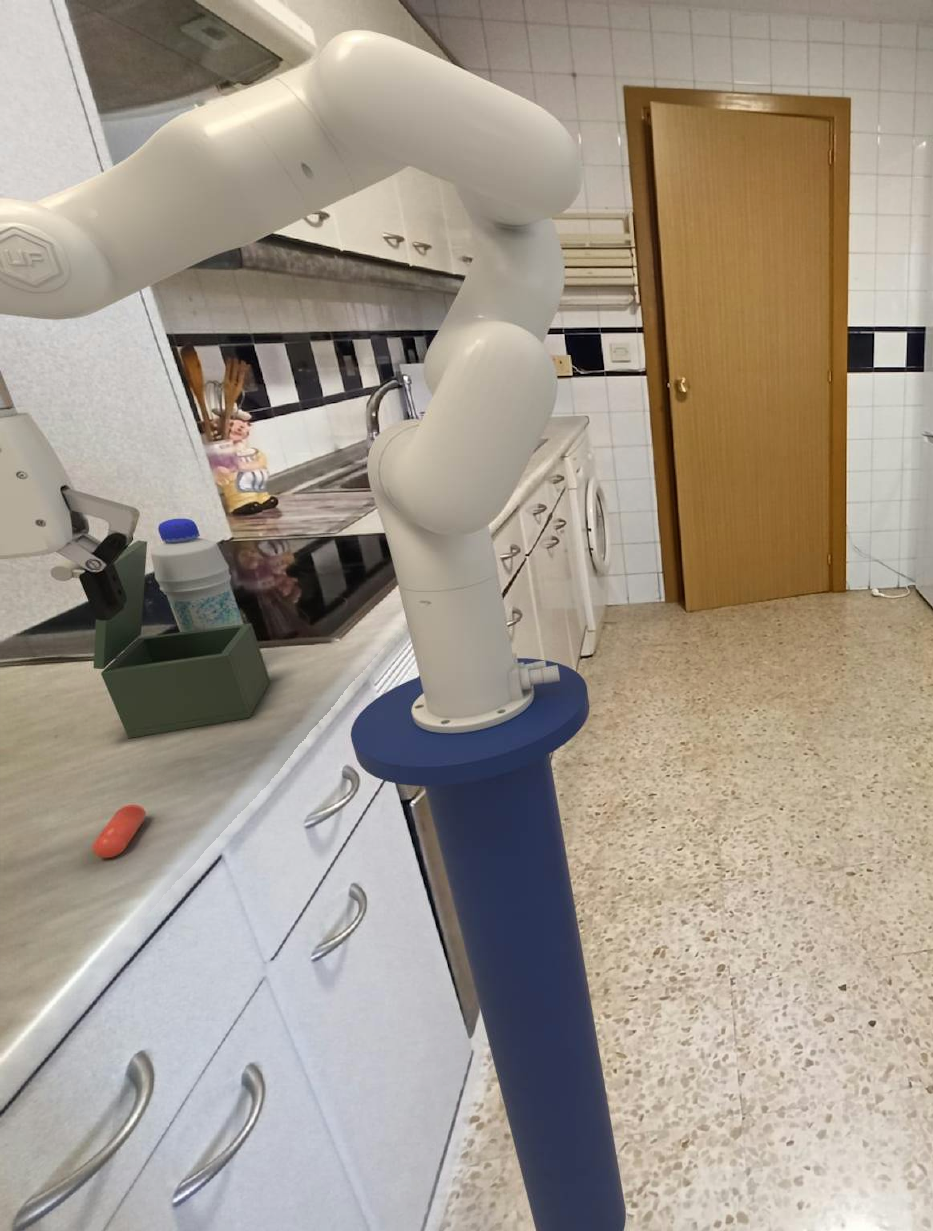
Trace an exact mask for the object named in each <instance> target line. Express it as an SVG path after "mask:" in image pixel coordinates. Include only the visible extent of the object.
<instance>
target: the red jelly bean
mask: <svg viewBox="0 0 933 1231" xmlns="http://www.w3.org/2000/svg"><path fill="white" fill-rule="evenodd" d="M145 818H146V811H145V809H144V807H142V806H140V805H138V804H128V805H125V806H122V807H120V808H119V809H118V810H116V812H115V813H114V815H113V816H112V817H111V819H110V820H109V821H108V823H107V824H106V826H105V827H104V828H103V830H101V833H100V834H99V835H98V837H97V838H96V839H95V841H94V842H93V844H92V851H93V854H94V855H95V856H97V857H99V858H103V859H111V858H114V857H116V856H119V855H120V854H121V853H123V852H124V850H125V849H126V847H127V846H128V845H129V843H130V842H131V840H132V839H133V837H134V836H135V834H136V833H137V832H138V829H139V828H140V827H141V825H142V824H143V823H144V821H145Z"/></svg>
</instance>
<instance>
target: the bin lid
mask: <svg viewBox="0 0 933 1231" xmlns="http://www.w3.org/2000/svg"><path fill="white" fill-rule="evenodd" d="M147 550H148V542H147V541H146V540H136V541H134V542H133V543H131V544H130V545H129V546H128V547H127V548H126V549H125V550H124V552H123V553H122V554H121V555H120V556H119V559H118V560H117V561H115V562H114V565H115V568H116V570H117V573H118V576H119V578H120V581H121V583H122V586H123V589H124V591H125V594H126V598H127V599H126V603H125V604H124V609H123V610H122V611H120V612H119V613H118V614H117V615H115V616H114V617H113V618H112V619H110V620H105V621H100V620H97V619H96V618H95V628H94V647H93V648H94V650H93V667H92V668H93V669H96V670H104V669H106V668H107V667H108V666H109V665H110V664H111V663H112V662H113V661H114V660H115V659H116V658H117V657H118V656H119V655H120V654H122V653H123V652H124V651H125V650H126V649H127V648H128V647H129V646H130V645H131V644H132V643H133V642H134V641H136V639H138V638H140V637H141V635H142V626H143V610H144V597H145V596H144V595H145V579H146V567H147V553H148V552H147ZM83 572H85V570H84V568H83V567H81V566H80V565H78V564H76V563H74V562H73V561H71V560H69V559H67V558H66V559H65V560H63V561H62V562H59V563H58V564H56V565H55V566H53V567H52V568H51V569H50V572H49V574H50V576H51V577H52V578H53V579H54V580H56V581H59V582H67V581H69V580H71V579H73V578H74V579H79V575H80V574H82V573H83Z"/></svg>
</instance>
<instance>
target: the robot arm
mask: <svg viewBox="0 0 933 1231" xmlns="http://www.w3.org/2000/svg"><path fill="white" fill-rule="evenodd" d="M581 158H582V157H581V156H580V152H579V150H578V147H577V144H576V143H575V141H574V139H573V137H572V136H571V134H570V133H569V132H568V130H567V129H566V128H565V126H564V125H563V124H562V123H561V122H560V120H558V119H557V118H556V117H555V116H554V115H553V114H551V113H550V112H549V111H547V110H546V109H545V108H543V107H542V106H540V105H538V104H536V103H534V102H533V101H531V100H528V99H527V98H524V97H523V96H521V95H519V94H517V93H515V92H512V91H511V90H508V89H506V88H504V87H502V86H499V85H498V84H495V83H493V82H491V81H489V80H486V79H484V78H482V77H480V76H479V75H476V74H474V73H472V72H470V71H468V70H466V69H464V68H462V67H459V66H458V65H455V64H453V63H452V62H449V61H447V60H445V59H443V58H441V57H438V56H436V55H434V54H432V53H430V52H428V51H425V50H424V49H421V48H419V47H417V46H414V45H412V44H410V43H408V42H405V41H403V40H401V39H398V38H396V37H393V36H390V35H387V34H385V33H379V32H376V31H373V30H366V29H365V30H364V29H351V30H348V31H344V32H341V33H339V34H337V35H336V36H333V37H332V38H331V39H330V40H329V41H328V42H327V44H326V45H325V46H324V47H323V49H322V51H321V52H320V54H319V55H318V56H317V58H316V59H315V60H313V61H311V62H309V63H307V64H304V65H301V66H299V67H297V68H293V69H291V70H289V71H286V72H284V73H281V74H279V75H276V76H274V77H272V78H270V79H268V80H265V81H262V82H260V83H258V84H255V85H253V86H249V87H247V88H245V89H243V90H240V91H237V92H235V93H232V94H230V95H227V96H225V97H223V98H219V99H216V100H213V101H211V102H208V103H206V104H204V105H200V106H198V107H195V108H192V109H191V110H188V111H187V110H186V111H185V112H183V113H181V114H179V115H177V116H175V117H174V118H172V119H170V120H169V121H168V122H166V123H165V124H164V125H162V126H161V127H159V129H157V130H156V131H155V132H154V133H153V134H152V135H151V136H150V137H149V138H148V139H147V140H146V141H145V142H144V143H143V145H141V146H140V147H139V148H138V149H137V150H135V152H133V153H132V154H130V155H129V156H128V157H127V158H125V159H123V160H122V161H120V162H118V163H117V164H115V165H113V166H112V167H110V168H108V169H106V170H104V171H102V172H101V173H98V174H97V175H95V176H93V177H90V178H88V179H87V180H84V181H82V182H80V183H77V184H75V185H73V186H71V187H68V188H66V189H63V190H60V191H58V192H56V193H54V194H50V195H49V196H45V197H43V198H41V199H38V200H36V201H34V202H31V201H26V200H22V199H17V198H10V197H0V315H6V316H13V317H14V316H15V317H22V318H24V317H25V318H32V319H40V320H53V321H55V320H57V321H58V320H71V319H79V318H83V317H87V316H89V315H92V314H94V313H97V312H98V311H101V310H103V309H105V308H107V307H109V306H111V305H113V304H115V303H117V302H119V301H121V300H123V299H125V298H128V297H129V296H132V295H134V294H136V293H138V292H141V291H142V290H144V289H146V288H148V287H150V286H152V285H155V284H156V283H160V282H161V281H163V280H165V279H167V278H169V277H171V276H173V275H175V274H177V273H179V272H182V271H184V270H186V269H187V268H189V267H193V266H194V265H196V264H199V263H200V262H203V261H205V260H208V259H210V258H212V257H214V256H217V255H220V254H223V253H226V252H229V251H232V250H235V249H238V248H242V247H246V246H248V245H251V244H253V243H255V242H257V241H259V240H261V239H263V238H265V237H267V236H270V235H271V234H274V233H276V232H278V231H280V230H283V229H284V228H286V227H288V226H291V225H293V224H294V223H297V222H299V221H301V220H303V219H305V218H307V217H309V216H310V215H313V214H315V213H317V212H319V211H322V210H323V209H325V208H327V207H329V206H332V205H334V204H336V203H337V202H340V201H342V200H344V199H346V198H348V197H351V196H353V195H355V194H357V193H360V192H361V191H363V190H365V189H367V188H369V187H371V186H374V185H376V184H378V183H380V182H382V181H384V180H387V179H388V178H390V177H393V176H395V175H396V174H397V173H399V172H401V171H403V170H405V169H406V168H408V167H411V168H414V169H415V170H418V171H420V172H424V173H425V174H428V175H431V176H433V177H434V178H437V179H440V180H443V181H445V182H447V183H450V184H453V186H454V189H455V191H456V194H457V196H458V198H459V200H460V202H461V204H462V206H463V207H464V209H465V211H466V213H467V216H468V218H469V220H470V223H471V226H472V229H473V234H474V251H473V256H472V259H471V262H470V265H469V267H468V270H467V272H466V275H465V278H464V279H463V283H462V284H461V287H460V288H459V291H458V292H457V295H456V296H455V299H454V301H453V302H452V304H451V306H450V308H449V310H448V312H447V314H446V316H445V318H444V320H443V321H442V324H441V325H440V327H439V329H438V330H437V333H436V335H434V337H433V339H432V341H431V342H430V345H429V346H428V348H427V351H426V354H425V356H424V362H423V378H424V381H425V385H426V387H427V389H428V391H429V393H430V394H431V396H432V397H431V399H430V402H429V404H428V405H427V407H426V409H425V412H424V413H423V416H422V418H410V419H404V420H400V421H398V422H395V423H393V424H390V425H388V426H387V427H385V428H384V429H383V430H382V431H380V433H378V435H377V436H376V438H374V440H373V442H372V444H371V446H370V448H369V451H368V455H367V461H366V462H367V464H366V469H367V477H368V483H369V487H370V491H371V494H372V497H373V501H374V504H375V506H376V510H377V513H378V516H379V518H380V522H381V525H382V527H383V528H382V529H383V531H384V534H385V538H386V541H387V546H388V548H389V552H390V556H391V560H392V566H393V569H394V573H395V577H396V581H397V586H398V590H399V593H400V594H399V595H400V598H401V603H402V608H403V612H404V616H405V619H406V620H405V621H406V624H407V628H408V632H409V636H410V641H411V645H412V649H413V653H414V657H415V663H416V667H417V670H418V675H419V677H420V679H421V683H422V688H423V692H424V693H423V694H422V695H421V696H419V698H418V699H417V700H416V701H415V702H414V704H413V706H412V711H411V713H412V716H413V720H414V722H415V723H416V725H417V726H419V727H420V728H422V729H424V730H427V731H430V732H436V733H446V734H455V733H466V732H473V731H478V730H482V729H486V728H490V727H493V726H496V725H499V724H501V723H504V722H506V721H508V720H510V719H512V718H514V717H516V716H517V715H519V714H520V713H522V712H523V711H524V710H525V709H526V708H527V707H528V706H529V705H530V704H531V703H532V701H533V699H534V688H533V685H537V684H543V683H544V684H547V683H553V682H558V681H560V677H559V671H558V666H557V665H555V666H549V667H546V662H545V661H539V662H534V663H530V664H524V662H522V663H518V660H517V658H518V656H517V652H513V648H512V642H511V636H510V631H509V626H508V620H507V614H506V609H505V603H504V598H503V592H502V587H501V586H502V585H501V580H500V574H499V568H498V562H497V557H496V551H495V547H494V542H493V538H492V534H491V529H490V527H489V525H490V524H492V523H493V522H494V521H495V520H496V519H497V518H498V517H499V515H501V513H502V512H503V511H504V509H505V508H506V506H507V504H508V503H509V501H510V500H511V499H512V496H513V495H514V492H515V490H516V489H517V486H518V485H519V483H520V481H521V479H522V477H523V475H524V472H525V470H526V469H527V467H528V465H529V463H530V461H531V459H532V457H533V455H534V453H535V450H536V449H537V446H538V445H539V443H540V440H541V438H542V437H543V435H544V433H545V431H546V428H547V426H548V424H549V422H550V420H551V417H552V415H553V412H554V410H555V407H556V402H557V398H558V389H559V388H558V382H559V380H558V373H557V369H556V365H555V362H554V360H553V358H552V356H551V354H550V352H549V350H548V349H547V348H546V346H545V345H544V342H545V340H546V338H547V335H548V333H549V331H550V328H551V325H552V323H553V321H554V319H555V317H556V314H557V311H558V309H559V307H560V304H561V301H562V298H563V294H564V290H565V282H566V268H565V267H566V266H565V260H564V254H563V249H562V245H561V241H560V238H559V234H558V231H557V227H556V225H555V221H554V219H553V218H554V217H557V216H560V215H561V214H563V213H564V212H565V211H567V210H568V209H569V208H570V207H571V206H572V204H574V202H575V201H576V199H577V198H578V195H579V194H580V191H581V187H582V182H583V165H582V159H581ZM140 514H141V513H140V511H139V509H137V508H136V507H134V506H131V505H128V504H124V503H121V502H117V501H113V500H110V499H106V498H103V497H99V496H96V495H93V494H89V493H86V492H83V491H79V490H76V489H75V486H74V484H73V483H72V480H71V478H70V477H69V474H68V473H67V471H66V469H65V467H64V465H63V464H62V461H61V460H60V458H59V457H58V455H57V453H56V451H55V449H54V448H53V446H52V445H51V443H50V442H49V440H48V439H47V437H46V435H45V434H44V433H43V431H42V429H40V427H39V425H38V424H37V423H36V421H35V420H34V418H33V417H32V416H31V415H30V413H28V412H18V411H17V408H16V406H15V403H14V401H13V398H12V396H11V394H10V391H9V388H8V386H7V384H6V381H5V379H4V377H3V374H2V371H1V370H0V560H8V559H19V558H30V557H40V556H45V555H50V554H53V553H57V554H59V555H60V556H62V557H64V558H66V560H67V559H69V560H71V561H73V562H74V563H76V564H78V565H80V566H81V567H83V568H84V571H85V572H83V573H82V574H80V575H79V578H78V579H79V581H80V584H81V587H82V589H83V591H84V594H85V596H86V599H87V602H88V604H89V606H90V609H91V611H92V613H93V616H94V618H95V620H96V619H97V620H100V621H105V620H110V619H112V618H113V617H114V616H115V615H117V614H118V613H119V612H120V611H122V610H123V609H124V604H125V603H126V599H127V598H126V594H125V591H124V589H123V586H122V583H121V581H120V578H119V576H118V573H117V570H116V568H115V565H114V562H115V561H117V560H118V559H119V556H120V555H121V554H122V553H123V552H124V550H125V549H126V548H127V547H129V546H130V545H131V544H132V542H134V534H135V532H136V529H137V526H138V523H139V522H138V521H139V518H140ZM87 516H91V517H94V518H98V519H101V520H104V521H106V522H107V524H108V526H109V527H108V531H107V532H108V533H107V536H105V538H104V539H103V540H102V541H101V540H100V539H98V538H95V536H92V535H91V534H89V532H90V524H89V520H88V517H87Z"/></svg>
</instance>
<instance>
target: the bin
mask: <svg viewBox="0 0 933 1231" xmlns="http://www.w3.org/2000/svg"><path fill="white" fill-rule="evenodd" d="M255 633H256V632H255V630H254V627H253V623H251V622H250V623H243V624H241V625H234V626H226V627H218V628H210V629H203V630H195V631H187V632H180V631H179V632H171V633H164V634H157V635H156V634H155V635H150V636H148V635H147V636H139V637H137V638H136V639H135V640H134V641H133V642H132V643H131V644H130V645H129V646H128V647H127V648H126V649H125V650H124V651H122V652H121V653H120V654H119V655H118V656H117V657H116V658H115V659H114V660H113V661H112V662H111V663H110V664H109V665H107V666H106V667H105V668H104V669H103V670H102V671H101V672H100V675H101V677H102V680H103V682H104V684H105V687H106V689H107V691H108V694H109V696H110V699H111V701H112V703H113V705H114V707H115V710H116V712H117V715H118V716H119V719H120V721H121V725H122V727H123V728H124V731H125V733H126V736H127V738H128V739H133V738H139V737H146V736H150V735H156V734H162V733H169V732H175V731H180V730H185V729H191V728H198V727H203V726H210V725H215V724H221V723H226V722H233V721H240V720H245V719H250V717H251V715H252V714H253V713H254V710H255V709H256V707H257V705H258V704H259V702H260V700H261V698H262V697H263V695H264V693H265V692H266V690H267V688H268V686H269V684H270V683H271V679H270V678H271V677H270V676H269V672H268V668H267V667H266V664H265V661H264V657H263V655H262V650H261V648H260V645H259V643H258V639H257V636H256V634H255Z"/></svg>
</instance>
